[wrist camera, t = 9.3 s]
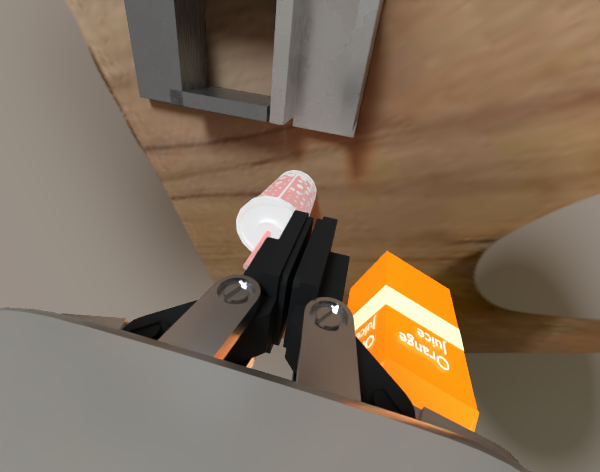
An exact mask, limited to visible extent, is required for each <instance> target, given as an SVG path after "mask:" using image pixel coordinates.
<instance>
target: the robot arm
mask: <svg viewBox="0 0 600 472" xmlns="http://www.w3.org/2000/svg"><path fill="white" fill-rule="evenodd" d="M337 220H338V219H333V218H329V217H323V220H321V219H317V221H316V224H315V226H314V229H313V231H312V225H313V218H312V217H309V213H307V212H302V211H298V210H295V211H294V213H293V214H292V216H291V218H290V220H289V222H288V223H287V225H286V227H285V229H284V231H283V232H282V234H281V236H280V238H279V239H275V238H271V237H267V238H266V239H265V241H264V242H263V244H262V246H261V247H260V249H259V250H258V252H257V253H256V255H255V257H254V258H253V260H252V261H251V263H250V265H249V266H248V268H247V269H246V271H245V273H244V274H243V275H236V274H235V275H229V276H226V277H223V278H221V279H220V280H218V281H217V282H216V283H215V284H214V285H213V286H212V287H211V288H210V289H209V290H208V291H207V292H206V293H205V294H204V295H203V296H202V297H201V298H200V299H199V300H196V301H193V302H189V303H186V304H183V305H179V306H176V307H173V308H169V309H166V310H162V311H159V312H156V313H152V314H149V315H146V316H143V317H140V318H137V319H135V320H133V321H132V322H127V319H126V318H115V317H101V316H89V315H75V314H58V313H54V312H48V311H41V310H35V309H21V308H0V472H531V471H530V470H528V469H527V468H525V467H524V466H522V465H521V464H520V463H519V462H518V461H517V460H516V459H515V458H514V457H513V456H512V455H511V453H510V452H508V451H507V450H505V449H504V448H502V447H501V446H500V445H498V444H496V443H494V442H492V441H490V440H488V439H486V438H484V437H482V436H481V435H479V434H477V433H475V432H473V431H471V430H469V429H467V428H465V427H463V426H461V425H459V424H457V423H456V422H454V421H452V420H450V419H448V418H446V417H444V416H442V415H440V414H438V413H436V412H434V411H432V410H430V409H429V408H427V407H425V406H424V407H423V408H422V409H420V408H418V407H416V406H414V405H413V404H412V402H411V400H410V399H409V398H408V396H407V395H406V393H405V392H404V391H403V390H402V389H401V387H400V386H399V385H398V384H397V383H396V382H395V381H394V379H393V378H392V377H391V376H390V375H389V374H388V372H387V371H386V370H385V369H384V368H383V367H382V366H381V364H380V363H379V362H378V361H377V360H376V359H375V357H374V356H373V355H372V354H371V353H370V352H369V351H368V349H367V348H366V347H365V346H364V345H363V344H362V342H361V341H360V340H359V339H358V338H357V337H356V336H355V326H354V317H353V314H352V312H351V310H350V309H349V307H347V306H346V305H345V304H344V303H343V302H342V300H343V294H344V288H345V282H346V276H347V270H348V264H349V258H350V257H349V256H346V255H341V254H337V253H333V252H331V247H332V243H333V238H334V234H335V229H336V225H337ZM311 231H312V234H311ZM285 327H286V331H285V338H284V345H283V347H285V348H286V354H285V359H286V360H287V362H288V363H289V365H290V367H291V368H292V370H293V374H292V380H288V379H285V378H281V377H278V376H275V375H271V374H268V373H265V372H261V371H258V370H255V369H251V368H252V366H253V364H254V362H255V358H256V356H258V355H260V354H263V353H265V352H266V353H270V352H271V349H272V347H273V344H275V345H279V344H280V341H281V338H282V336H283V333H284V330H285Z"/></svg>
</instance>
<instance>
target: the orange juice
mask: <svg viewBox="0 0 600 472" xmlns="http://www.w3.org/2000/svg"><path fill="white" fill-rule="evenodd" d="M347 307H349V309H350V310H351V312H352V314H353V317H354V326H355V336H356V337H357V338H358V339H359V340H360V341H361V342H362V344H363V345H364V346H365V347H366V348H367V349H368V351H369V352H370V353H371V354H372V355H373V356H374V357H375V359H376V360H377V361H378V362H379V363H380V364H381V366H382V367H383V368H384V369H385V370H386V371H387V372H388V374H389V375H390V376H391V377H392V378H393V379H394V381H395V382H396V383H397V384H398V385H399V386H400V387H401V389H402V390H403V391H404V392H405V393H406V395H407V396H408V398H409V399H410V400H411V402H412V404H413V405H414V406H416V407H418V408H420V409H422V408H423V407H424V406H425V407H427V408H429V409H430V410H432V411H434V412H436V413H438V414H440V415H442V416H444V417H446V418H448V419H450V420H452V421H454V422H456V423H457V424H459V425H461V426H463V427H465V428H467V429H469V430H471V431H473V432H474V430H475V427H476V423H477V419H478V415H479V412H478V411H477V407H476V403H475V398H474V394H473V391H472V386H471V381H470V377H469V373H468V369H467V364H466V360H465V356H464V348H463V344H462V340H461V336H460V331H459V329H458V325H457V321H456V317H455V312H454V308H453V304H452V300H451V295H450V291H449V289H448V288H446V287H444V286H443V285H441V284H440V283H438V282H436V281H435V280H433V279H432V278H430V277H428V276H427V275H425V274H423V273H422V272H420V271H419V270H417V269H415V268H414V267H412V266H411V265H409V264H407V263H406V262H404V261H402V260H401V259H399V258H398V257H396V256H394V255H393V254H391V253H390V252H388V251H386V252H385V253H384V254H383V255H382V257H381V258H380V259H379V260H378V261H377V262H376V263H375V264H374V265H373V266H372V267H371V268H370V269H369V270H368V271H367V272H366V273H365V274H364V275H363V276H362V277H361V278H360V279H359V280H358V281H357V283H356V284H355V285H354V286H353V287H352V288H351V289H350V294H349V300H348V306H347Z"/></svg>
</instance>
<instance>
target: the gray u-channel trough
mask: <svg viewBox="0 0 600 472" xmlns="http://www.w3.org/2000/svg"><path fill="white" fill-rule="evenodd" d="M383 1H384V0H277V3H276V20H275V37H274V54H273V71H272V88H271V105H270V122H269V123H274V124H280V125H284V124H285V123H287V122H288V121H289V120H291V119H292V118H293V126H295V127H300V128H305V129H310V130H316V131H321V132H326V133H331V134H337V135H342V136H347V137H352V138H354V135H355V131H356V126H357V121H358V117H359V112H360V107H361V103H362V98H363V94H364V89H365V84H366V80H367V75H368V70H369V66H370V61H371V57H372V52H373V47H374V43H375V38H376V33H377V29H378V24H379V20H380V15H381V10H382V6H383Z"/></svg>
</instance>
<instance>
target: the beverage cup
mask: <svg viewBox="0 0 600 472" xmlns="http://www.w3.org/2000/svg"><path fill="white" fill-rule="evenodd" d="M315 198H316V186H315V183H314V181H313V180H312V179H311V178H310V177H309V175H307V174H305V173H303V172H302V171H296V170H291V171H287V172H285V173H284V174H282V175H281V176H280V177H279V178H278V179H277V180H276V181H275V182H273V183H272V184H271V185H270V186H269V187H268V188H267V189H266V190H265V191H264V192H263V193H262V194H260V195H259V196H258V197H256V198H253V199H252V200H250V201H249V202H248V203H247V204H246V205H244V206H243V207H242V208H241V209H240V211H239V214H238V216H237V219H236V225H237V233H238V235H239V237H240V239H241V241H242V243H243V244H244V245H245V246H246V247H247V248H248V249H249V250H250V251H251V252H252V253H251V255H250V256H249V258H248V259H247V261H246V262H245V264H244V265H243V268H244V269H245V270H246V269H247V268H248V266H249V265H250V263H251V261H252V260H253V258H254V257H255V255H256V253H257V252H258V250H259V249H260V247H261V246H262V244H263V242H264V241H265V239H266V238H267V237H271V238H275V239H279V238H280V236H281V234H282V232H283V231H284V229H285V227H286V225H287V223H288V222H289V220H290V218H291V216H292V214H293V213H294V211H295V210H298V211H302V212H307V213H309V216H310V213H311V210H312V207H313V204H314V201H315Z"/></svg>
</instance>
